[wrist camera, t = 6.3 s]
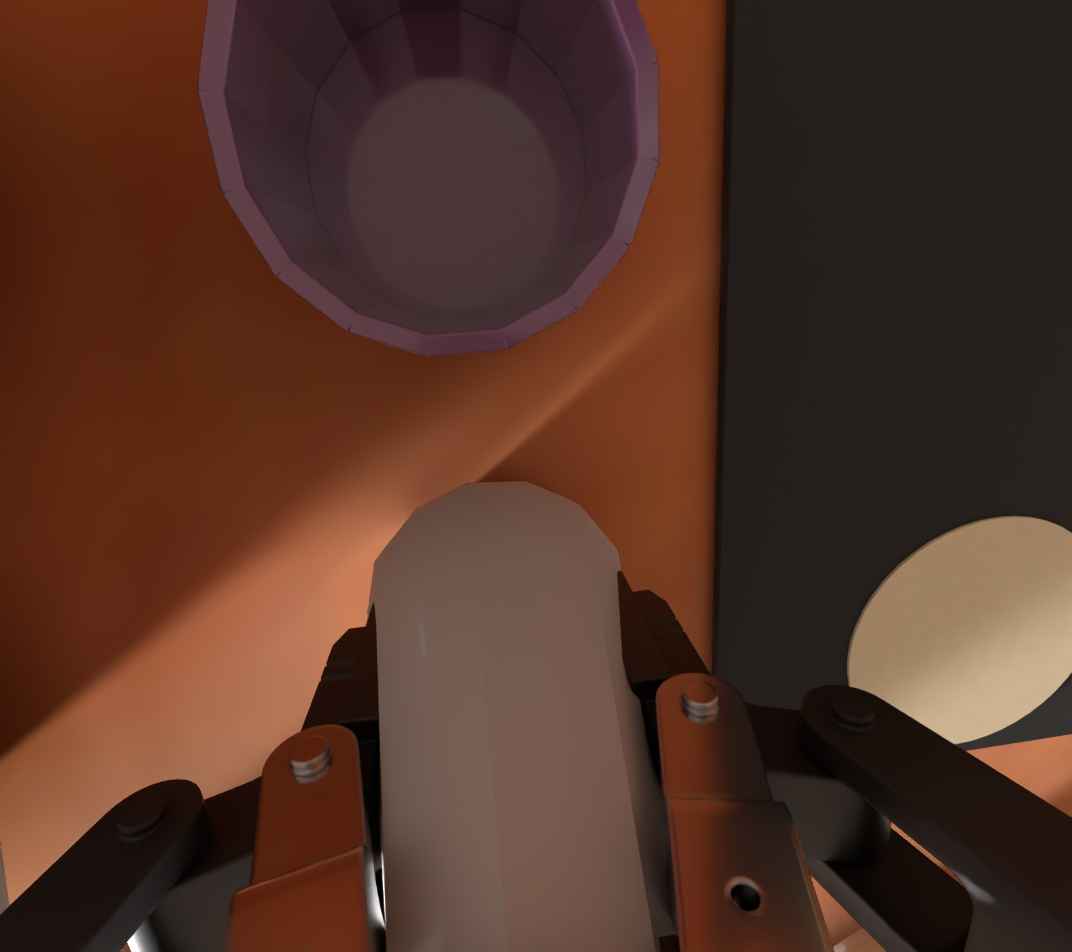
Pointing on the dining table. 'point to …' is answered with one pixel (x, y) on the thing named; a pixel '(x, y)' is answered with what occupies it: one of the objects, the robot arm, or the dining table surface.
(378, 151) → the purple cup
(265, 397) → the dining table surface
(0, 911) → the game console
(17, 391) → the dining table surface
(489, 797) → the salt shaker
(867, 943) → the teacup
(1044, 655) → the placemat
